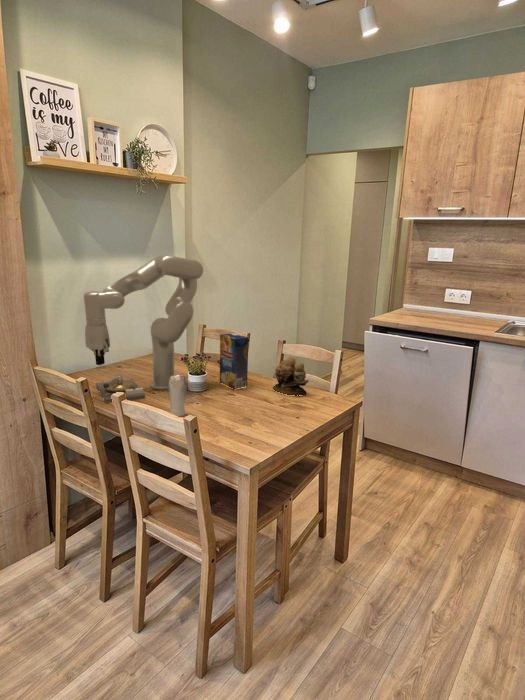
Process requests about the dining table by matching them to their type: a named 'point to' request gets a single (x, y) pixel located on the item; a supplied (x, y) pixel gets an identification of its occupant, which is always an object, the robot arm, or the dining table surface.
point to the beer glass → (177, 394)
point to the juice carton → (233, 360)
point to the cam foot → (118, 384)
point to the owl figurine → (290, 377)
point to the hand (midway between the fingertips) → (100, 364)
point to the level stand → (130, 393)
